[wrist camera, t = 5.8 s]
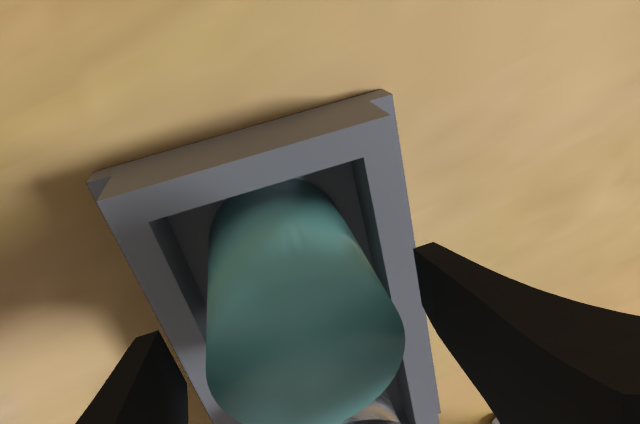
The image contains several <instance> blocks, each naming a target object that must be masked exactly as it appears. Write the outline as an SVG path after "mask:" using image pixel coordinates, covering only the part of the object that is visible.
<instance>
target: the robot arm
mask: <svg viewBox="0 0 640 424" xmlns="http://www.w3.org/2000/svg"><path fill="white" fill-rule="evenodd" d="M413 252H414V259H415V265H416V271H417V278H418V284H419V290H420V297H421V303H422V306H423V308H424V310H425V312H426V314H427V316H428V318H429V320H430V321H431V323H432V325H433V327H434V329H435V330H436V332H437V334H438V336H439V337H440V338H441V340H442V341H443V343H444V344H445V345H446V347H447V348H448V350H449V351H450V352H451V354H452V355H453V357H454V358H455V359H456V361H457V362H458V364H459V365H460V366H461V368H462V369H463V370H464V372H465V373H466V375H467V376H468V377H469V379H470V380H471V381H472V383H473V384H474V386H475V387H476V388H477V390H478V391H479V392H480V394H481V395H482V397H483V398H484V399H485V401H486V402H487V404H488V405H489V407H490V408H491V410H492V411H493V413H494V414H495V416H496V418H495V419H494V420H493V421H492V424H640V316H636V315H631V314H626V313H621V312H617V311H612V310H608V309H604V308H600V307H596V306H592V305H588V304H584V303H580V302H577V301H573V300H570V299H567V298H563V297H560V296H557V295H554V294H551V293H548V292H544V291H542V290H539V289H536V288H533V287H530V286H528V285H525V284H523V283H520V282H518V281H515V280H513V279H510V278H508V277H506V276H503V275H501V274H499V273H496V272H494V271H492V270H490V269H487V268H485V267H483V266H481V265H479V264H477V263H475V262H473V261H471V260H469V259H467V258H465V257H463V256H461V255H459V254H457V253H455V252H453V251H451V250H449V249H447V248H445V247H443V246H441V245H439V244H436V243H434V242H432V243H429V244H426V245H423V246H420V247H417V248H413ZM75 424H188V396H187V383H186V381H185V379H184V377H183V375H182V373H181V372H180V370H179V368H178V366H177V364H176V362H175V360H174V358H173V357H172V355H171V353H170V351H169V349H168V347H167V345H166V343H165V342H164V340H163V338H162V336H161V334H160V332H159V330H158V331H155V332H152V333H149V334H146V335H143V336H140V337H137V338H135V340H134V341H133V342H132V344H131V345H130V347H129V348H128V349H127V351H126V352H125V354H124V355H123V357H122V358H121V360H120V361H119V363H118V364H117V366H116V367H115V369H114V370H113V372H112V373H111V375H110V376H109V377H108V379H107V380H106V382H105V383H104V385H103V386H102V388H101V389H100V391H99V392H98V393H97V395H96V396H95V398H94V399H93V401H92V402H91V403H90V405H89V406H88V407H87V409H86V410H85V411H84V413H83V414H82V415H81V417H80V418H79V419H78V421H77V422H76V423H75Z"/></svg>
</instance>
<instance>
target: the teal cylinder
mask: <svg viewBox="0 0 640 424" xmlns="http://www.w3.org/2000/svg"><path fill="white" fill-rule="evenodd" d="M404 350H405V330H404V326H403V322H402V319H401V317H400V315H399V313H398V311H397V309H396V308H395V306H394V304H393V302H392V301H391V299H390V297H389V296H388V294H387V292H386V290H385V289H384V287H383V285H382V284H381V282H380V280H379V278H378V277H377V275H376V273H375V272H374V270H373V268H372V267H371V265H370V263H369V261H368V260H367V258H366V256H365V255H364V253H363V251H362V249H361V248H360V246H359V244H358V243H357V241H356V239H355V237H354V236H353V234H352V232H351V231H350V229H349V227H348V225H347V224H346V222H345V220H344V219H343V217H342V215H341V213H340V212H339V210H338V208H337V207H336V205H335V204H334V202H333V201H332V199H331V198H330V197H329V196H328V195H327V194H326V193H325V192H323V191H322V190H321V189H320V188H318V187H316V186H315V185H313V184H311V183H308V182H306V181H303V180H299V179H296V178H293V179H290V180H286V181H283V182H280V183H276V184H273V185H270V186H266V187H263V188H260V189H257V190H253V191H250V192H247V193H243V194H240V195H237V196H233V197H230V198H228V199H227V200H226V201H225V202H224V203H223V204H222V205H221V207H220V208H219V210H218V211H217V213H216V215H215V217H214V219H213V221H212V224H211V228H210V233H209V252H208V290H207V329H206V379H207V384H208V387H209V390H210V392H211V395H212V396H213V398H214V400H215V401H216V403H217V404H218V405H219V406H220V407H221V409H222V410H223V411H224V412H226V413H227V414H228V415H229V416H230V417H232V418H233V419H235V420H237V421H238V422H240V423H242V424H336V423H338V422H341V421H343V420H345V419H347V418H349V417H351V416H353V415H355V414H356V413H358V412H359V411H361V410H363V409H364V408H365V407H367V406H368V405H369V404H371V403H372V402H373V401H374V400H375V399H376V398H377V397H378V396H380V395H381V393H382V392H383V391H384V390H385V389H386V388H387V387H388V385H389V384H390V382H391V381H392V380H393V378H394V377H395V375H396V373H397V371H398V369H399V367H400V364H401V361H402V359H403V355H404Z"/></svg>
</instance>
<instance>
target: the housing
mask: <svg viewBox="0 0 640 424" xmlns="http://www.w3.org/2000/svg"><path fill="white" fill-rule="evenodd" d="M293 178H296V179H299V180H303V181H306V182H308V183H311V184H313V185H315V186H316V187H318V188H320V189H321V190H322V191H323V192H325V193H326V194H327V195H328V196H329V197H330V198H331V199H332V201H333V202H334V204H335V205H336V207H337V208H338V210H339V212H340V213H341V215H342V217H343V219H344V220H345V222H346V224H347V225H348V227H349V229H350V231H351V232H352V234H353V236H354V237H355V239H356V241H357V243H358V244H359V246H360V248H361V249H362V251H363V253H364V255H365V256H366V258H367V260H368V261H369V263H370V265H371V267H372V268H373V270H374V272H375V273H376V275H377V277H378V278H379V280H380V282H381V284H382V285H383V287H384V289H385V290H386V292H387V294H388V296H389V297H390V299H391V301H392V302H393V304H394V306H395V308H396V309H397V311H398V313H399V315H400V317H401V319H402V322H403V326H404V330H405V350H404V355H403V359H402V361H401V364H400V367H399V369H398V371H397V373H396V375H395V377H394V378H393V380H392V381H391V382H390V384H389V385H388V387H387V388H386V389H385V390H384V391H383V392H382V393H381V395H380V396H378V397H377V398H376V399H375V400H374V401H373V402H372V403H371V404H369V405H368V406H367V407H365V408H364V409H363V410H361V411H359V412H358V413H356V414H355V415H353V416H351V417H349V418H347V419H345V420H343V421H341V422H338V423H336V424H439V419H438V414H439V413H441V411H440V405H439V398H438V392H437V385H436V378H435V372H434V365H433V359H432V352H431V346H430V339H429V332H428V326H427V319H426V313H425V310H424V308H423V306H422V303H421V297H420V290H419V284H418V278H417V271H416V265H415V259H414V252H413V248H416V247H415V241H414V234H413V228H412V221H411V214H410V208H409V201H408V195H407V188H406V182H405V175H404V168H403V162H402V155H401V149H400V142H399V136H398V129H397V123H396V116H395V109H394V103H393V96H392V94H391V93H389V92H387V91H385V90H383V89H380V90H376V91H373V92H369V93H366V94H362V95H359V96H355V97H352V98H348V99H345V100H341V101H338V102H335V103H331V104H328V105H324V106H321V107H317V108H314V109H310V110H307V111H303V112H300V113H296V114H293V115H290V116H286V117H283V118H279V119H276V120H272V121H269V122H265V123H262V124H258V125H255V126H251V127H248V128H244V129H241V130H238V131H234V132H231V133H227V134H224V135H220V136H217V137H213V138H210V139H206V140H203V141H199V142H196V143H192V144H189V145H186V146H182V147H179V148H175V149H172V150H168V151H165V152H161V153H158V154H154V155H151V156H147V157H144V158H141V159H137V160H134V161H130V162H127V163H123V164H120V165H116V166H113V167H109V168H106V169H102V170H99V171H95V172H93V174H92V175H91V177H90V178H89V179H88V181H87V182H86V184H87V186H88V188H89V190H90V192H91V194H92V196H93V197H94V199H95V201H96V203H97V205H98V207H99V209H100V211H101V213H102V214H103V216H104V218H105V220H106V222H107V224H108V226H109V228H110V230H111V232H112V233H113V235H114V237H115V239H116V241H117V243H118V245H119V247H120V249H121V250H122V252H123V254H124V256H125V258H126V260H127V262H128V264H129V266H130V267H131V269H132V271H133V273H134V275H135V277H136V279H137V281H138V283H139V284H140V286H141V288H142V290H143V292H144V294H145V296H146V298H147V300H148V302H149V303H150V305H151V307H152V309H153V311H154V313H155V315H156V317H157V319H158V320H159V322H160V324H161V326H162V328H163V330H164V332H165V334H166V336H167V337H168V339H169V341H170V343H171V345H172V347H173V349H174V351H175V353H176V354H177V356H178V358H179V360H180V362H181V364H182V366H183V368H184V370H185V372H186V373H187V375H188V377H189V379H190V381H191V383H192V385H193V387H194V389H195V390H196V392H197V394H198V396H199V398H200V400H201V402H202V404H203V406H204V407H205V409H206V411H207V413H208V415H209V417H210V419H211V421H212V423H213V424H242V423H240V422H238V421H237V420H235V419H233V418H232V417H230V416H229V415H228V414H227V413H226V412H224V411H223V410H222V409H221V407H220V406H219V405H218V404H217V403H216V401H215V400H214V398H213V396H212V395H211V392H210V390H209V387H208V384H207V379H206V329H207V290H208V252H209V233H210V228H211V224H212V221H213V219H214V217H215V215H216V213H217V211H218V210H219V208H220V207H221V205H222V204H223V203H224V202H225V201H226V200H227V199H228V198H230V197H233V196H237V195H240V194H243V193H247V192H250V191H253V190H257V189H260V188H263V187H266V186H270V185H273V184H276V183H280V182H283V181H286V180H290V179H293Z"/></svg>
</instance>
